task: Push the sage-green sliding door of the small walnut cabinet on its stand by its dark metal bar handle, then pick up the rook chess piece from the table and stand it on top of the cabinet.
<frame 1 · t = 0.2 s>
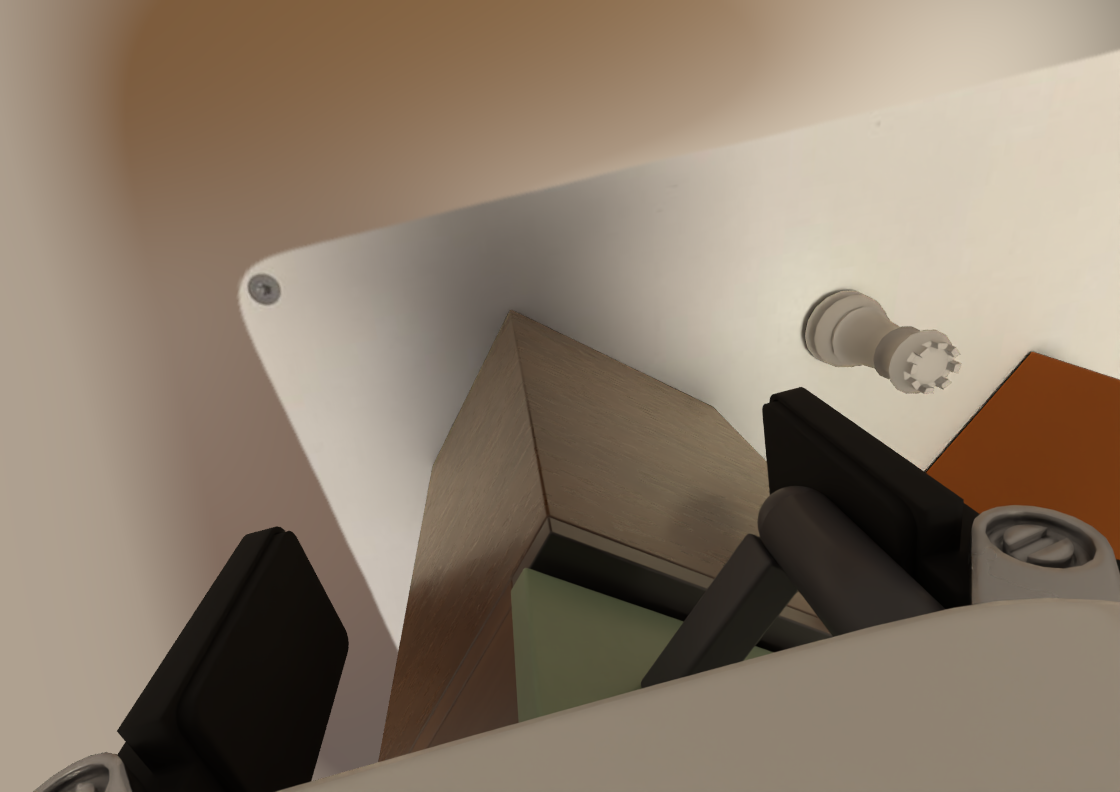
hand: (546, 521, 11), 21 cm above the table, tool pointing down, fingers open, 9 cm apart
rook chess piece: (834, 324, 33), on the table
alarm clock: (987, 465, 39), on the table
cabinet: (664, 771, 16), on the table
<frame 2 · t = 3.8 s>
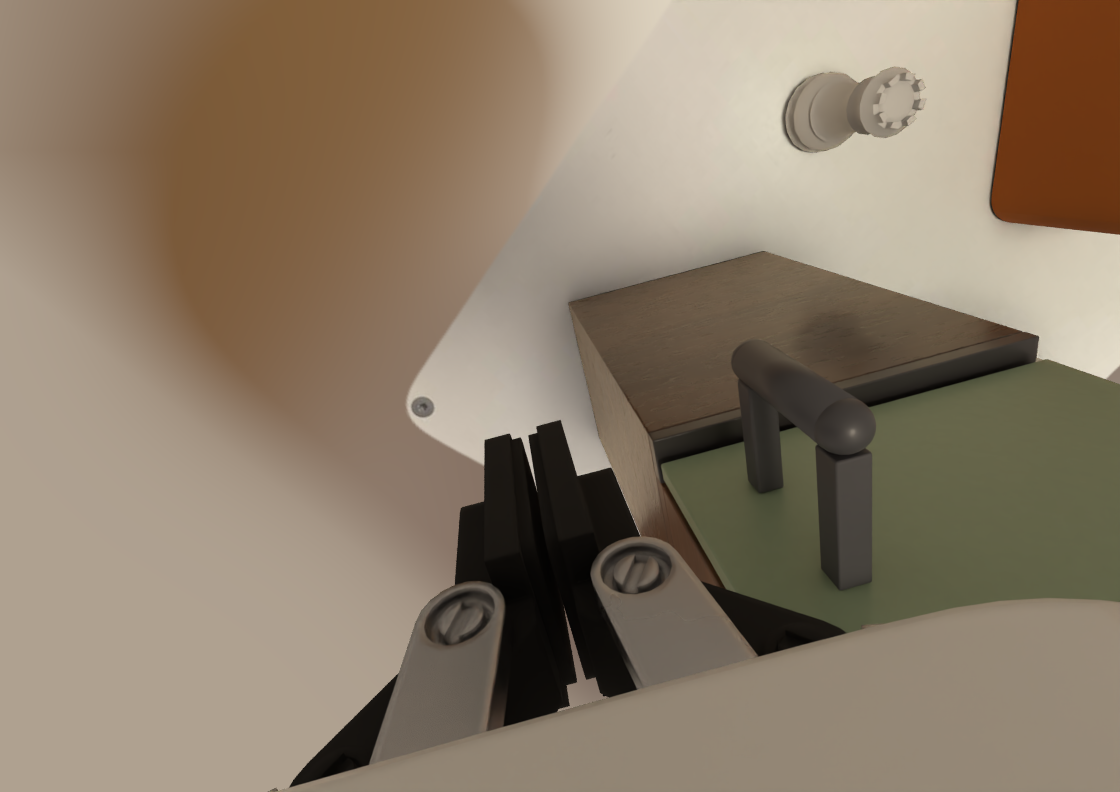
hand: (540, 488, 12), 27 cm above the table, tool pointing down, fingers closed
door: (975, 420, 14), point 26 cm above the table, slide at 0.1 cm
rook chess piece: (813, 114, 35), on the table
alarm clock: (1058, 101, 37), on the table
cabinet: (841, 522, 22), on the table
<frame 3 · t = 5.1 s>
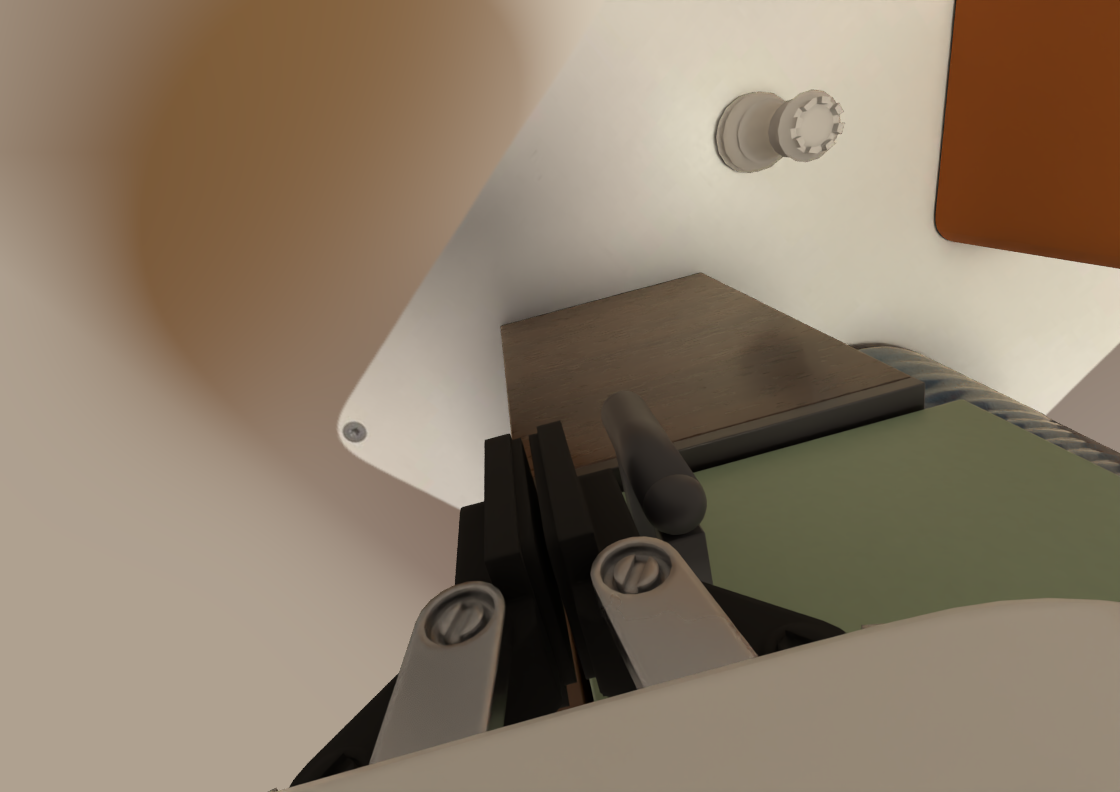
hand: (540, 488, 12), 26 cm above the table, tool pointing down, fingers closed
door: (849, 482, 13), point 26 cm above the table, slide at 1.1 cm, touching gripper
rook chess piece: (746, 134, 34), on the table
alarm clock: (1001, 118, 36), on the table
cabinet: (735, 571, 21), on the table
vase: (846, 439, 44), on the table
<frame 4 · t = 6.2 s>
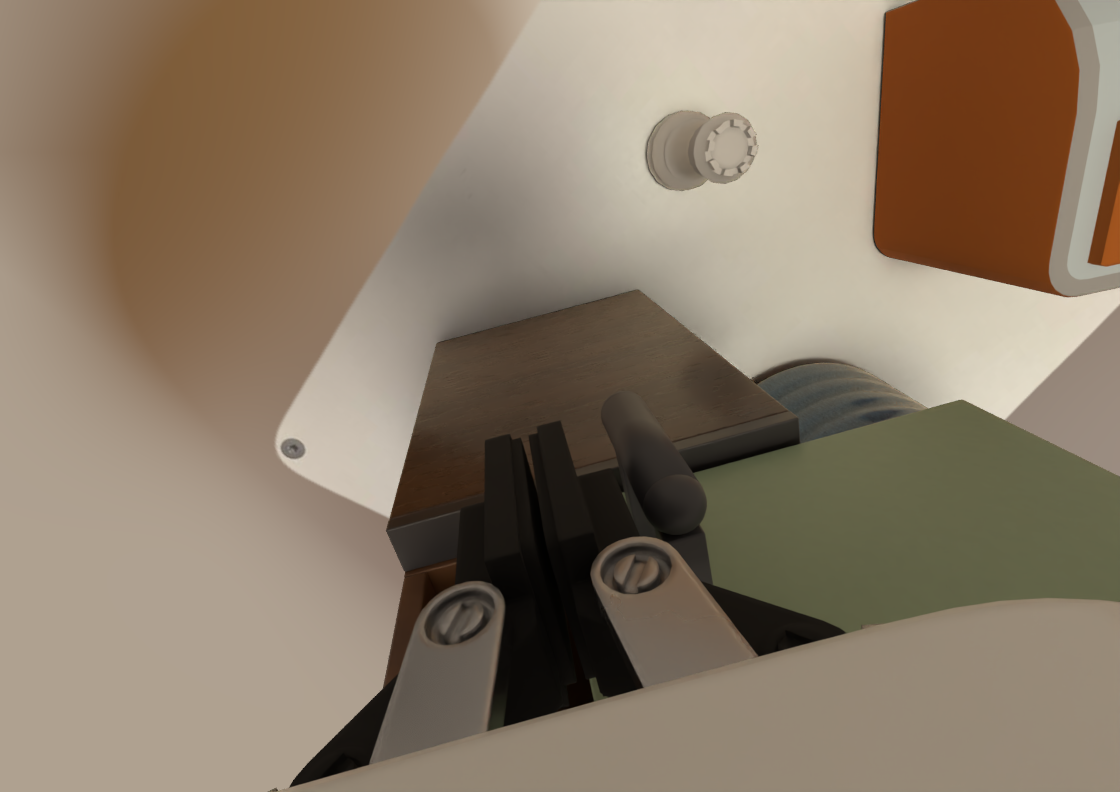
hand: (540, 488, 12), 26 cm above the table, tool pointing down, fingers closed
door: (849, 482, 13), point 26 cm above the table, slide at 5.5 cm, touching gripper
rook chess piece: (678, 152, 34), on the table
alarm clock: (937, 135, 36), on the table
cabinet: (625, 602, 21), on the table
vase: (793, 453, 44), on the table
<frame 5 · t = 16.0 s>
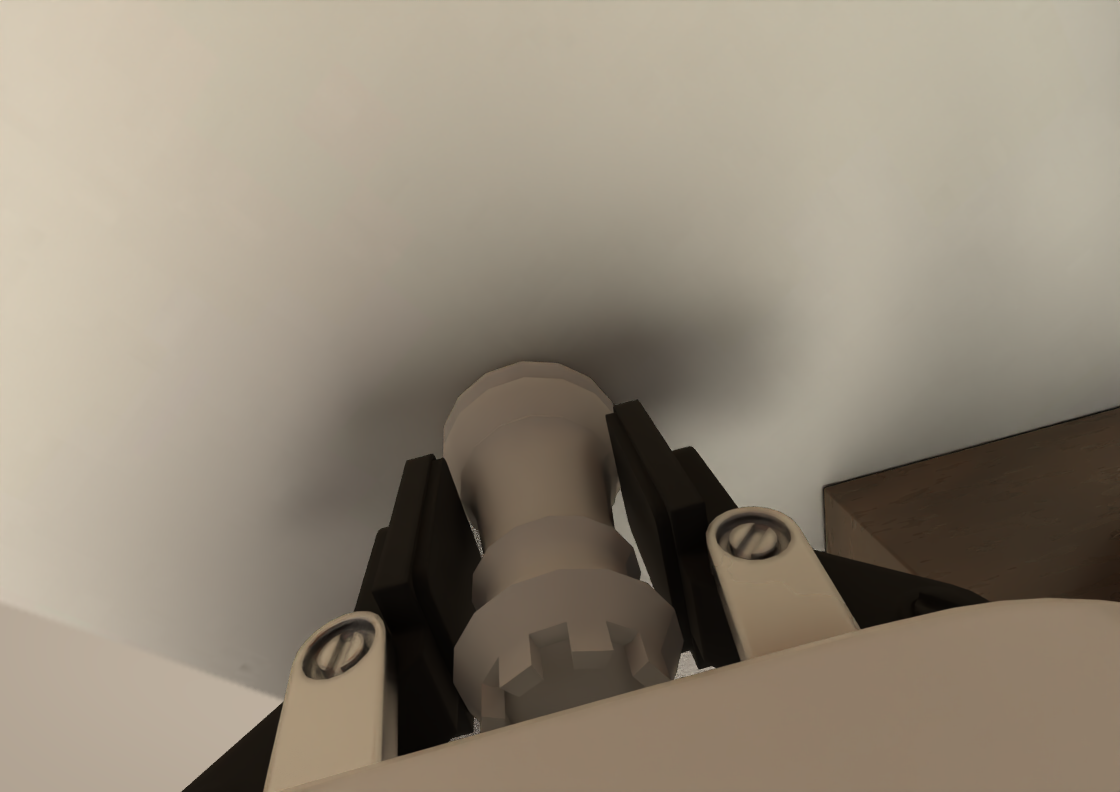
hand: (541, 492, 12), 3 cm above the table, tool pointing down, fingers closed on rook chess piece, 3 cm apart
rook chess piece: (530, 433, 14), on the table, touching gripper
when the fingers open (34 cm above the table, at t = 22.7 s): rook chess piece stays where it is, resting on cabinet.
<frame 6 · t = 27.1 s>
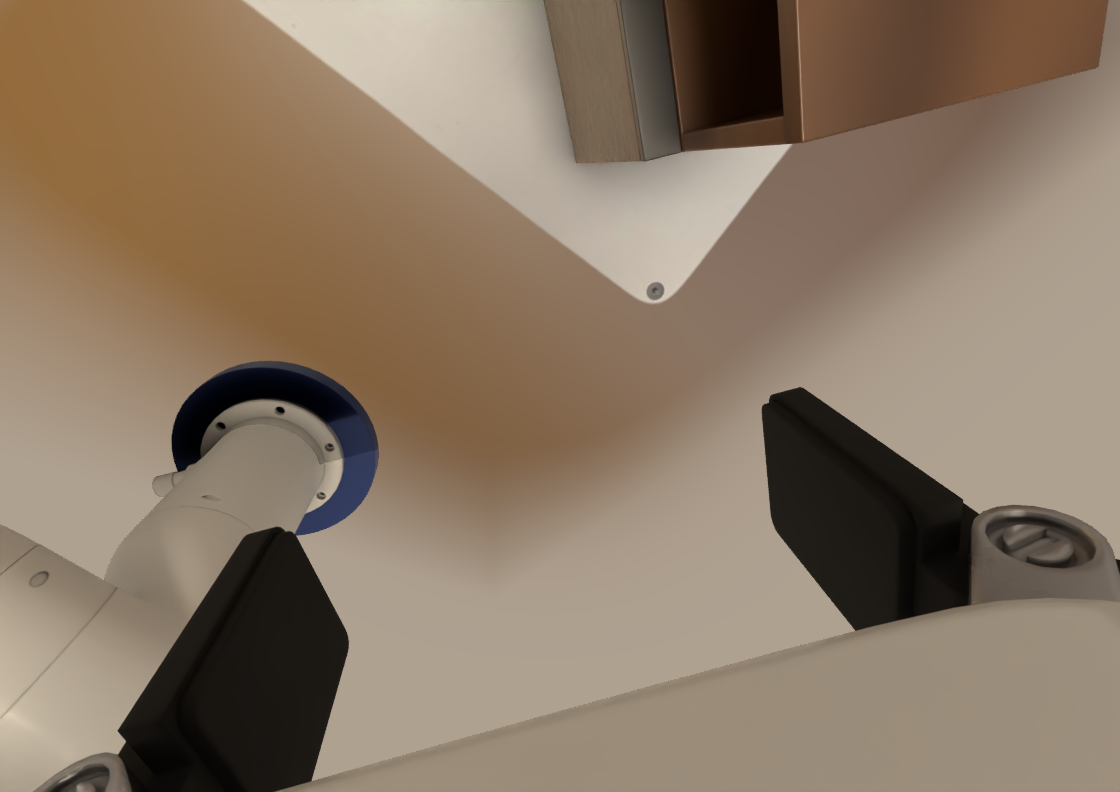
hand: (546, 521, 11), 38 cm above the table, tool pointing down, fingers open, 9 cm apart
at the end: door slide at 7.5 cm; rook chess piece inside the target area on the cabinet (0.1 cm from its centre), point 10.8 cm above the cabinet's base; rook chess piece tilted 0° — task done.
